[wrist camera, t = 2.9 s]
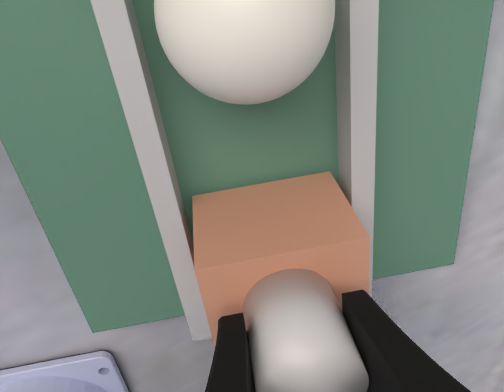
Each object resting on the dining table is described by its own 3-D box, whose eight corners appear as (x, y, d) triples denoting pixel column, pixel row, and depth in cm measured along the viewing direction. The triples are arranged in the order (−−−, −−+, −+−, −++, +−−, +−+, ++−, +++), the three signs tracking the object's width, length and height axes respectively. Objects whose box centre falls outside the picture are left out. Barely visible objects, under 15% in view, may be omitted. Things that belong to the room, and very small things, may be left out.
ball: (313, 64, 14) (361, 114, 10) (177, 87, 14) (174, 146, 10) (305, -101, 12) (362, -115, 8) (140, -76, 11) (119, -78, 8)
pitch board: (442, 249, 20) (472, 287, 18) (96, 315, 20) (86, 362, 17) (556, -616, 9) (677, -794, 7) (-287, -530, 8) (-460, -698, 6)
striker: (333, 256, 18) (407, 419, 12) (211, 279, 18) (226, 456, 12) (330, 171, 16) (418, 317, 10) (192, 196, 16) (197, 360, 10)
